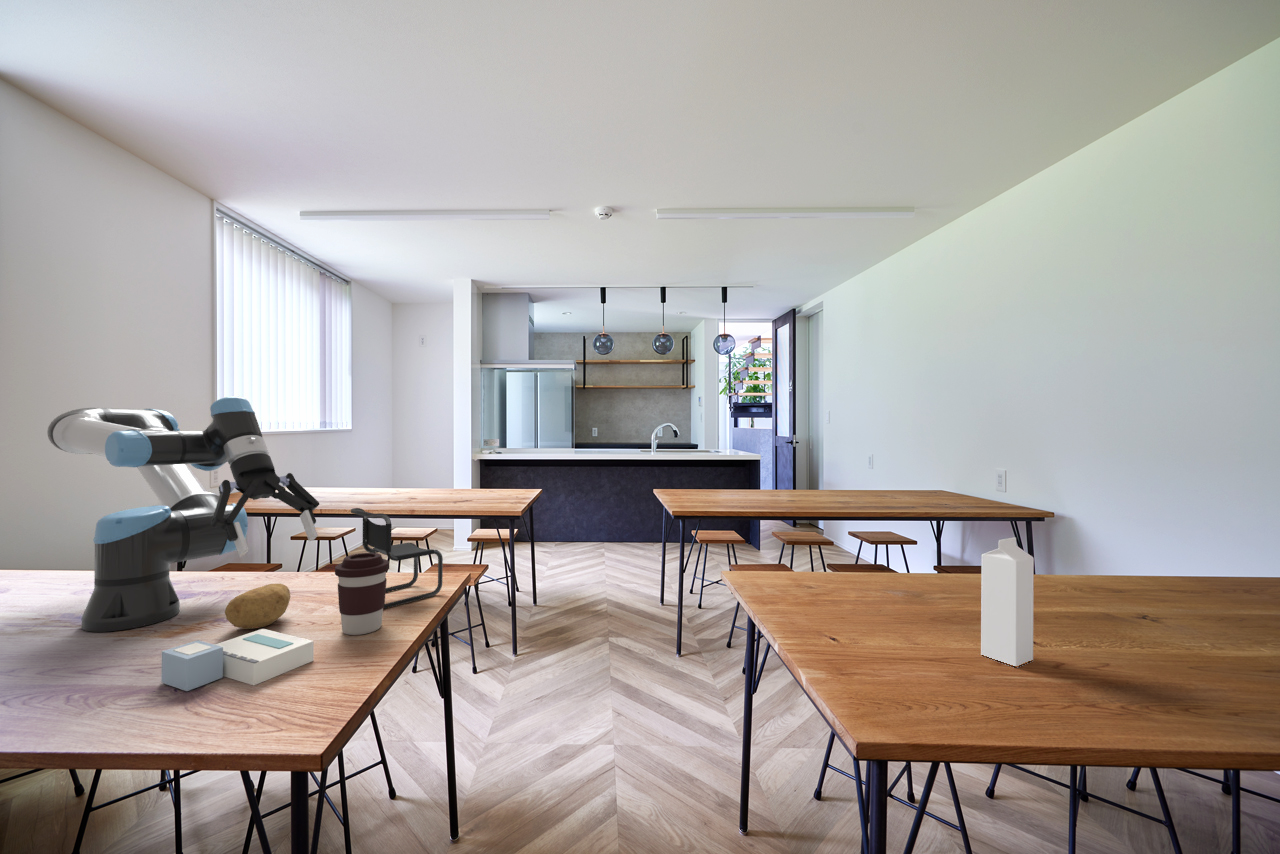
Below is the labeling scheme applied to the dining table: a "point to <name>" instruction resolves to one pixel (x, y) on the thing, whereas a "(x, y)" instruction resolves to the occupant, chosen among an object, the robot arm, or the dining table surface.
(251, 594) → the potato
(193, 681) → the light blue box
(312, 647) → the white device
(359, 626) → the coffee cup
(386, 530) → the chair
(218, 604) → the dining table surface
